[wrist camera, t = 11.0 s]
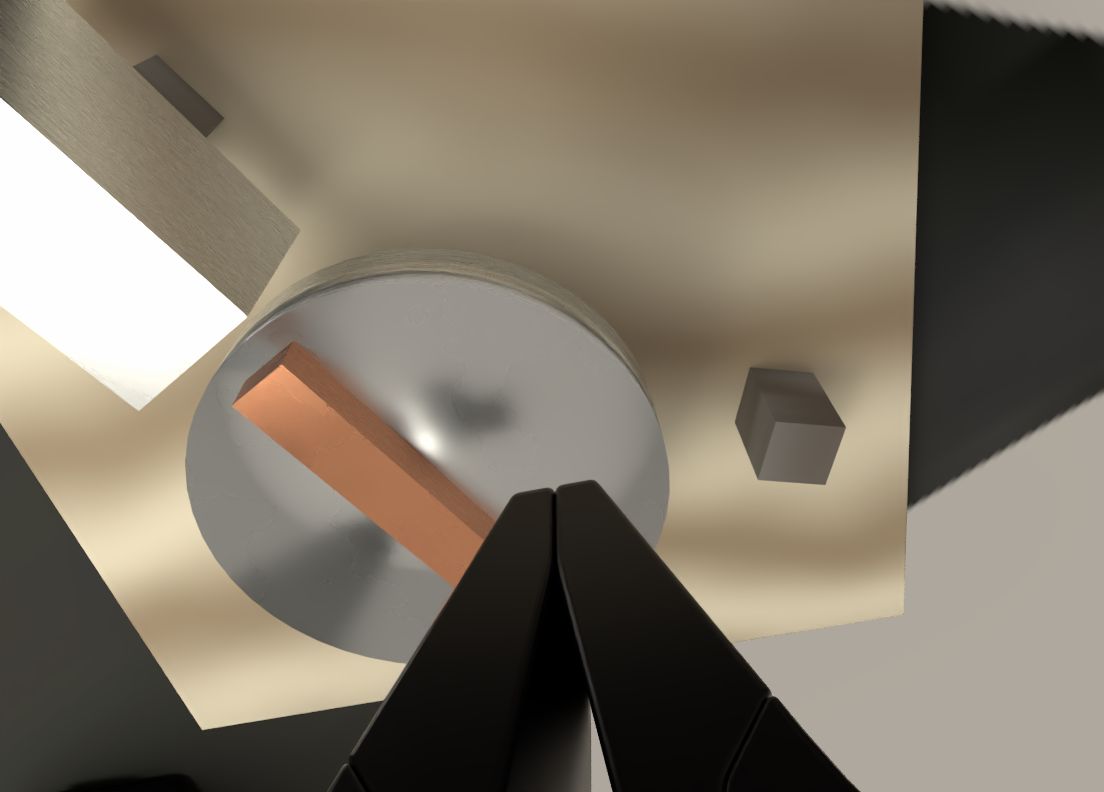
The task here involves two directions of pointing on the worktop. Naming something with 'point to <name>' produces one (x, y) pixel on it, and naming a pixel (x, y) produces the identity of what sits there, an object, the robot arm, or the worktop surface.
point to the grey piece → (302, 353)
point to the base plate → (562, 256)
